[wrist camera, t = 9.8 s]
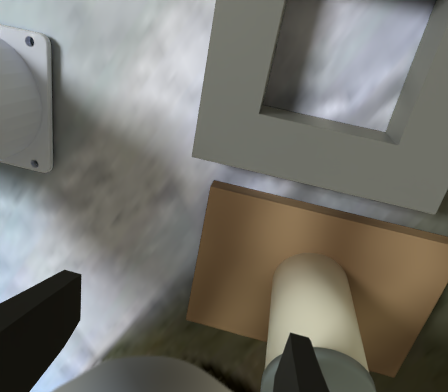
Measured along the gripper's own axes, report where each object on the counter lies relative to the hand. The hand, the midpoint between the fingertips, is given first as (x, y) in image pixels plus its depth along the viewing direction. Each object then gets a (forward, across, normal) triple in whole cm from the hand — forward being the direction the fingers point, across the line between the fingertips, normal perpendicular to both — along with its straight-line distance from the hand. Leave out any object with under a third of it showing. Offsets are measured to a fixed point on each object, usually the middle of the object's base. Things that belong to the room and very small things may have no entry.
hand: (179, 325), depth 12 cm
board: (+10, -6, +4) cm, 13 cm away
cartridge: (+9, -6, +4) cm, 12 cm away
